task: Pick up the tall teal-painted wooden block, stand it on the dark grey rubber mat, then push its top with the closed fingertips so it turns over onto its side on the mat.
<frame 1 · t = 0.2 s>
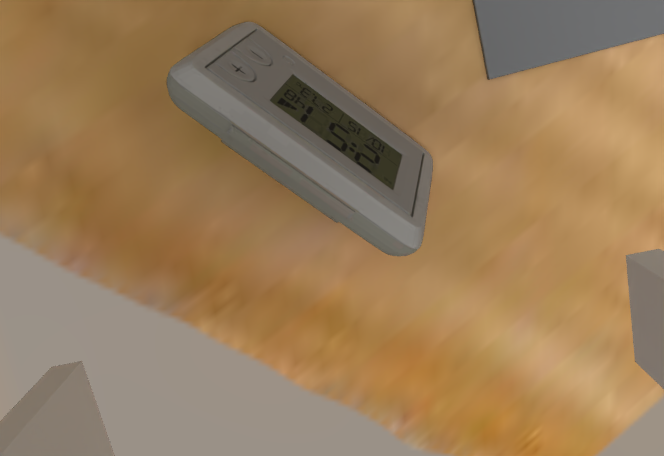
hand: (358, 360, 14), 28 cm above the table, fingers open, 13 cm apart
digital clock: (319, 123, 40), on the table
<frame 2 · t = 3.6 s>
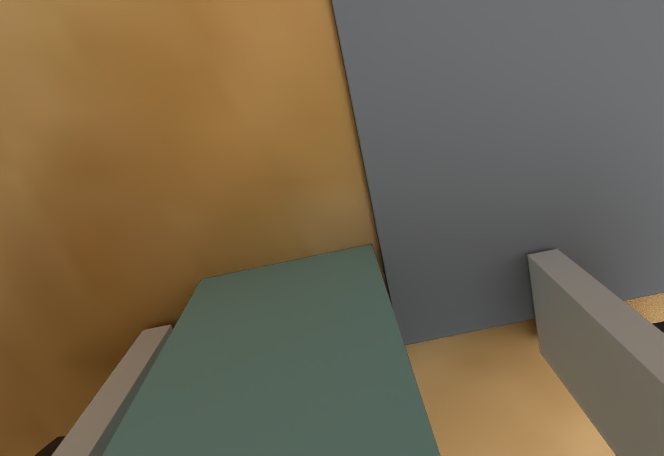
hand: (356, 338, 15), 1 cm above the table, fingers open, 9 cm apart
block: (304, 340, 16), on the table
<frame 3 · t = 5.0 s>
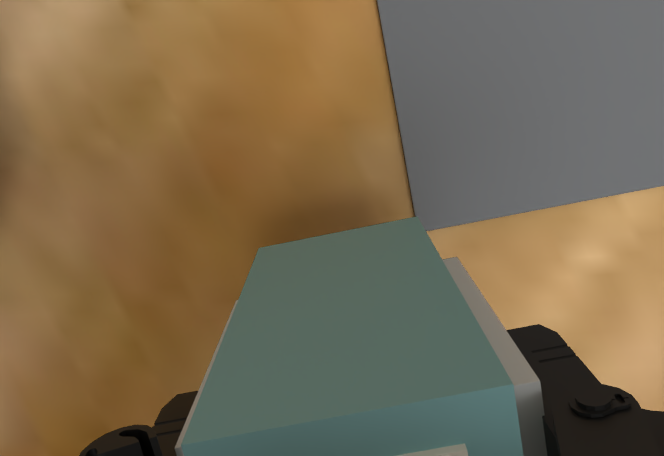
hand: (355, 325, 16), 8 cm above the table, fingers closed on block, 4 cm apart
mat: (618, 17, 22), on the table
block: (353, 306, 17), point 7 cm above the table, touching gripper
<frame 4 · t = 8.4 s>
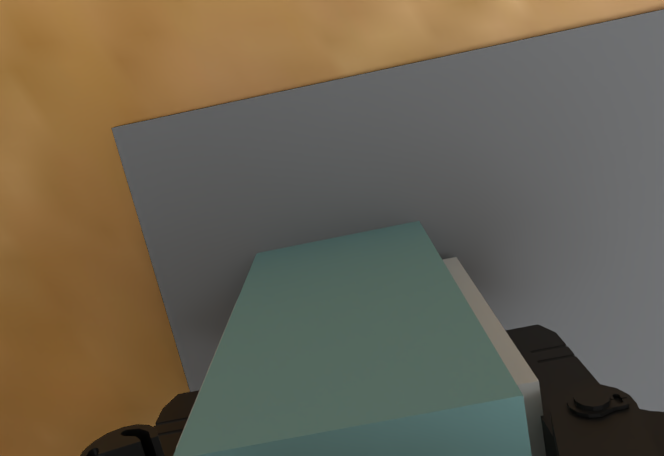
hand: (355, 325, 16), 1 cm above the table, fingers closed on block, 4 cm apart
mat: (470, 290, 17), on the table
block: (353, 312, 17), resting on mat, touching gripper
when the fingers open (1 cm above the table, at t = 8.5 s): block stays where it is, resting on mat.
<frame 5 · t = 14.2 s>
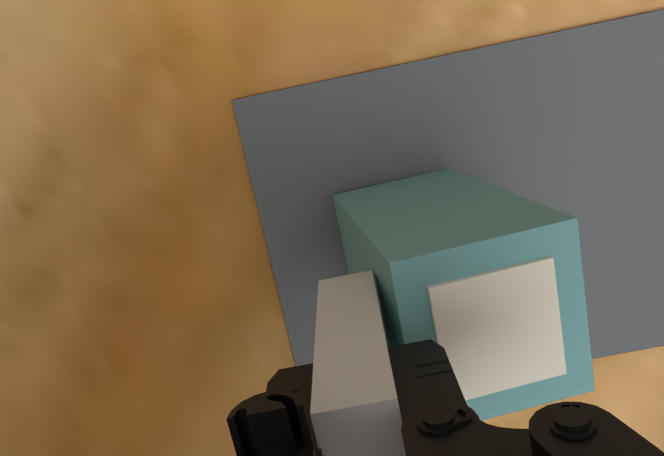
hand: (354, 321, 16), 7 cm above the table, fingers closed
mat: (484, 221, 23), on the table
block: (401, 238, 23), point 1 cm above the table, tilted 8°, touching gripper, mat
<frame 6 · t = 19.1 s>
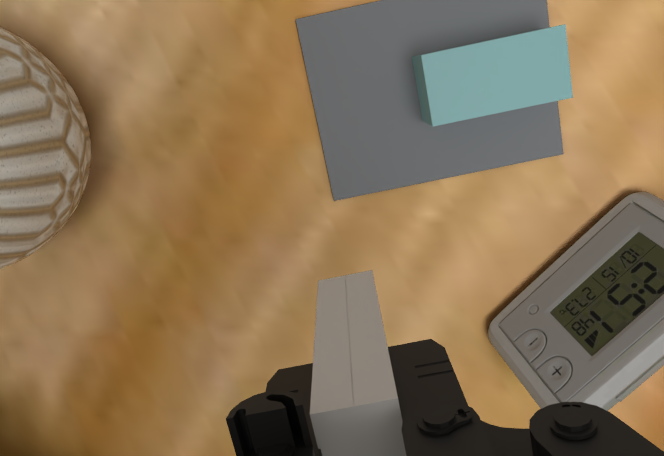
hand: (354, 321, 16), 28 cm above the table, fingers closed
vase: (12, 134, 44), on the table
mat: (432, 88, 43), on the table
block: (421, 90, 40), point 3 cm above the table, tilted 90°, touching mat
digital clock: (575, 278, 46), on the table
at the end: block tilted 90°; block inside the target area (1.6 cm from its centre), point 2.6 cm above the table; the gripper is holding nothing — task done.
